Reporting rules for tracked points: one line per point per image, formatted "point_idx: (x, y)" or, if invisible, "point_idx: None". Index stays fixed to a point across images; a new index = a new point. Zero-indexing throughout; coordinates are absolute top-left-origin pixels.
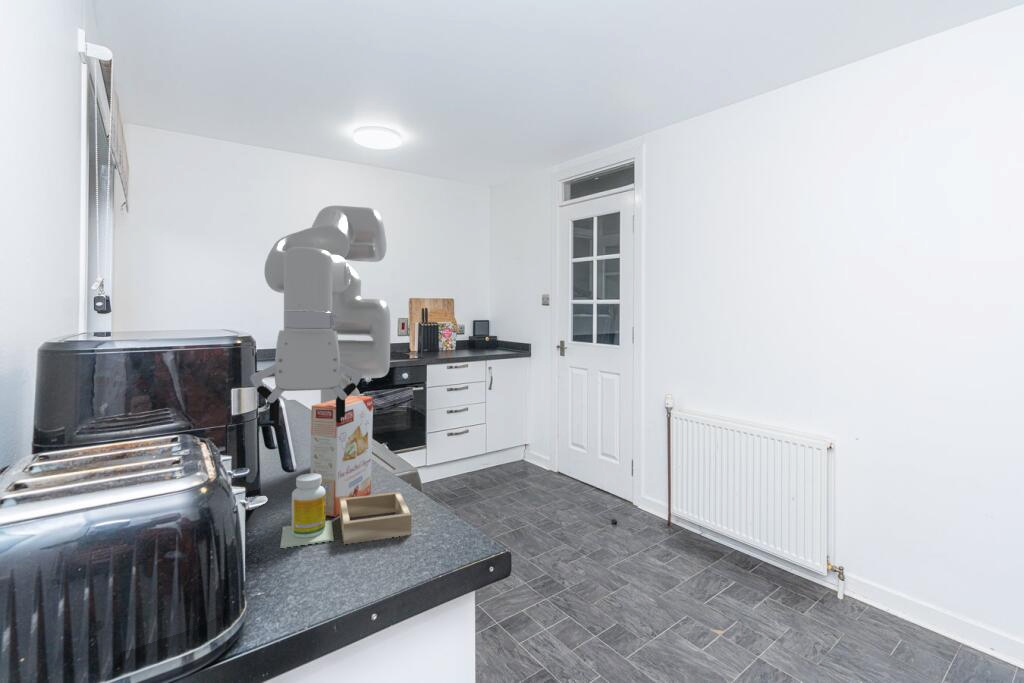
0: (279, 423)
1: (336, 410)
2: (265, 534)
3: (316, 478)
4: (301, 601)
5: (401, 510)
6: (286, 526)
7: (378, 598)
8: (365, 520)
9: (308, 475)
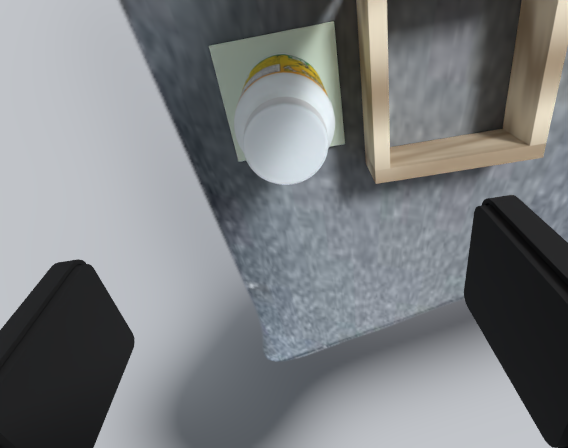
0: (103, 285)
1: (506, 355)
2: (177, 73)
3: (314, 168)
4: (311, 308)
5: (533, 96)
6: (217, 46)
7: (407, 315)
8: (426, 172)
9: (280, 129)
